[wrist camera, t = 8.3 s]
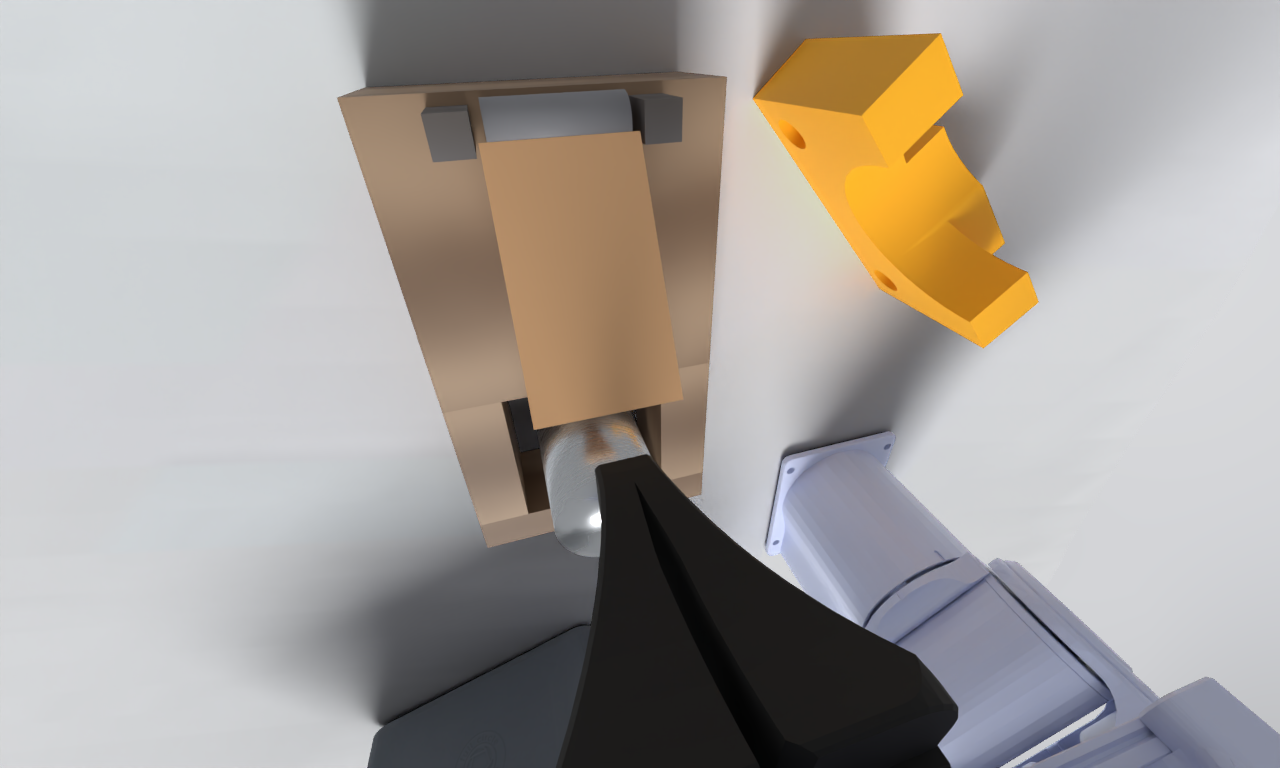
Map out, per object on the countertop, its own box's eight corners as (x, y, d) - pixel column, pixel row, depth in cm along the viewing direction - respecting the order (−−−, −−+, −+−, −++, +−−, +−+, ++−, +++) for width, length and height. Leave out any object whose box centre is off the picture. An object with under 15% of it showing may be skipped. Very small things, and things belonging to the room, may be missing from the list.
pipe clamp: (947, 222, 24) (1078, 268, 19) (877, 287, 25) (983, 348, 20) (840, -4, 17) (999, -28, 12) (750, 98, 18) (861, 115, 13)
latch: (473, 114, 13) (466, 85, 11) (622, 105, 13) (633, 77, 12) (533, 423, 13) (534, 431, 12) (670, 395, 14) (686, 400, 13)
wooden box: (673, 441, 27) (714, 519, 22) (484, 483, 24) (489, 579, 20) (677, 71, 17) (753, 79, 12) (365, 87, 15) (320, 103, 10)
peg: (615, 414, 24) (666, 542, 18) (534, 427, 23) (558, 567, 17) (614, 345, 22) (672, 463, 16) (525, 356, 21) (549, 487, 15)
